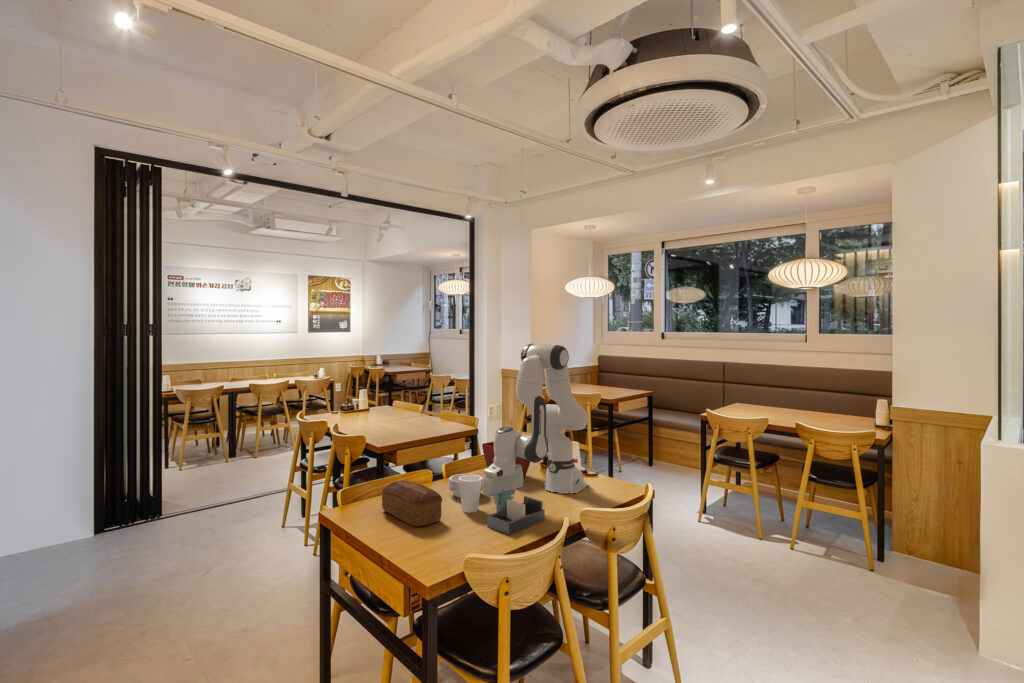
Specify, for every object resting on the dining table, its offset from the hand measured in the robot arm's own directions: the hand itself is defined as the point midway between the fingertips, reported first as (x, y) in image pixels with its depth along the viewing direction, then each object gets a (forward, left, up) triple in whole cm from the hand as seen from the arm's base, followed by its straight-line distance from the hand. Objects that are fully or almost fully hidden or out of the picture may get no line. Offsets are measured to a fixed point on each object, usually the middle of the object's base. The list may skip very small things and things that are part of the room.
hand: (504, 502), depth 198 cm
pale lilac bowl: (-2, -25, -4) cm, 26 cm away
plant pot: (-35, -31, -4) cm, 47 cm away
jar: (0, 0, -4) cm, 4 cm away
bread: (+30, -22, -4) cm, 37 cm away
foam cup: (+9, -10, -4) cm, 14 cm away
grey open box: (+6, +13, -4) cm, 14 cm away
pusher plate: (+6, +13, -2) cm, 14 cm away
